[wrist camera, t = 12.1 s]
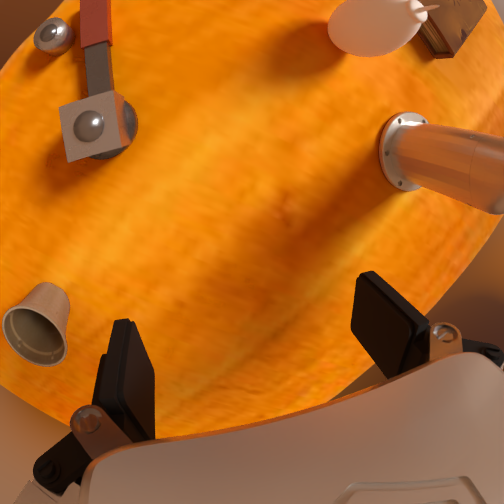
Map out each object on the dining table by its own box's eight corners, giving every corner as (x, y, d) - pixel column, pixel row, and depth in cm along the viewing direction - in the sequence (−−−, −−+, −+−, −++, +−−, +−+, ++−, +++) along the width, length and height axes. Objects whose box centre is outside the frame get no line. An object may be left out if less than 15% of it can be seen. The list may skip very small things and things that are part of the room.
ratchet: (125, -6, 22) (119, -27, 16) (142, 148, 31) (136, 152, 25) (71, 11, 20) (55, -7, 15) (86, 163, 29) (70, 171, 24)
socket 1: (74, 22, 21) (64, 11, 18) (75, 49, 23) (64, 41, 20) (45, 34, 21) (33, 25, 17) (46, 60, 22) (33, 54, 19)
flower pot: (93, 306, 37) (81, 346, 29) (58, 337, 37) (44, 376, 29) (46, 258, 32) (22, 291, 25) (14, 295, 32) (-8, 330, 25)
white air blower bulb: (304, 38, 29) (398, -4, 14) (328, 2, 28) (419, -43, 12) (350, 72, 33) (455, 60, 17) (370, 35, 31) (469, 14, 15)
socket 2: (124, 96, 25) (112, 89, 20) (130, 143, 27) (121, 147, 22) (78, 110, 24) (57, 107, 19) (85, 155, 27) (66, 163, 21)
